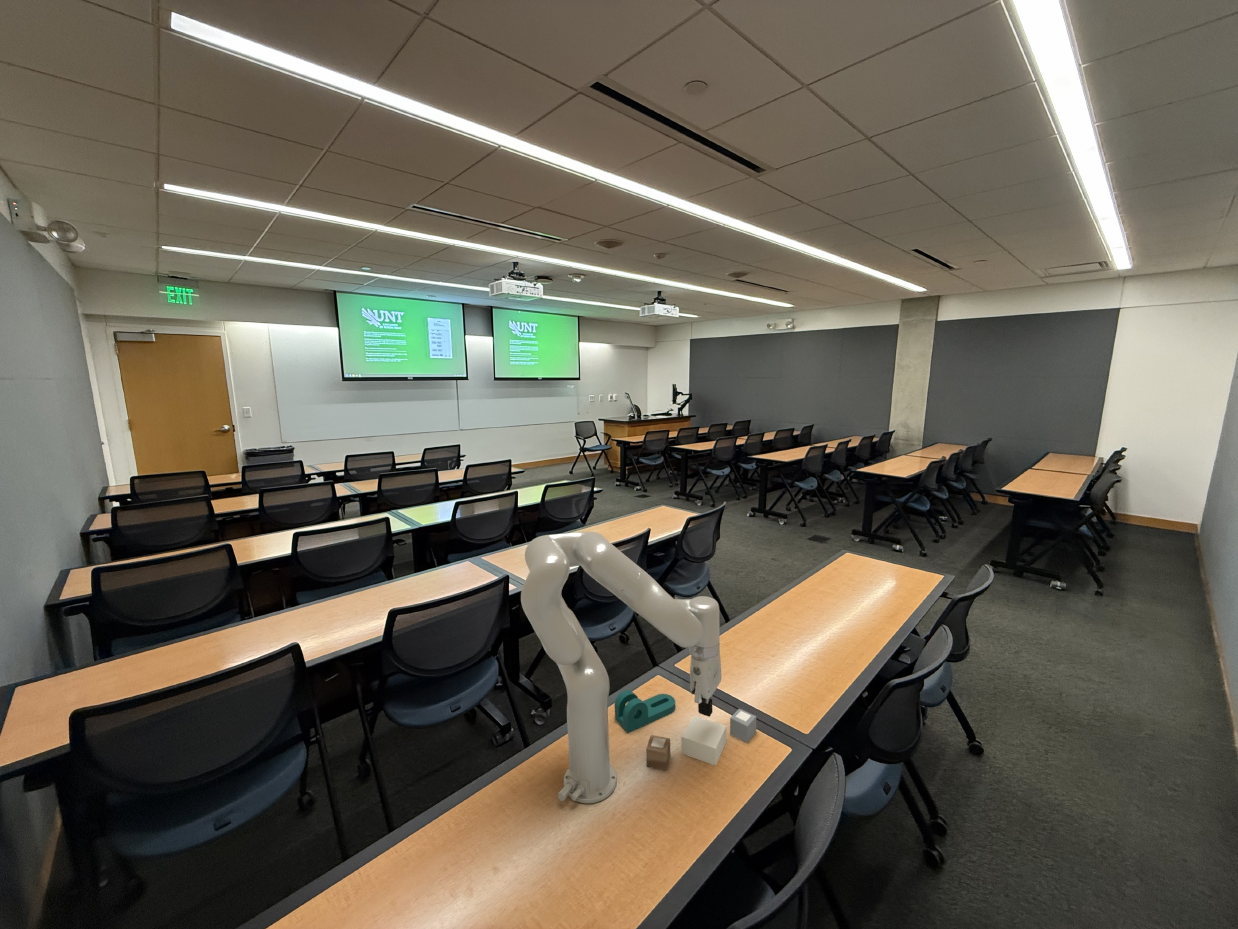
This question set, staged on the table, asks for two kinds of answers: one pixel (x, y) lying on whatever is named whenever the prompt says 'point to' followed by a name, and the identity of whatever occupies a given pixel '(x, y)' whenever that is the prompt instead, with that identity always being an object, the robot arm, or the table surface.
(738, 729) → the slate block
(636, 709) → the bracket
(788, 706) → the table surface
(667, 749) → the walnut block
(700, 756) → the plain block
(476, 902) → the table surface
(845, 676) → the table surface
